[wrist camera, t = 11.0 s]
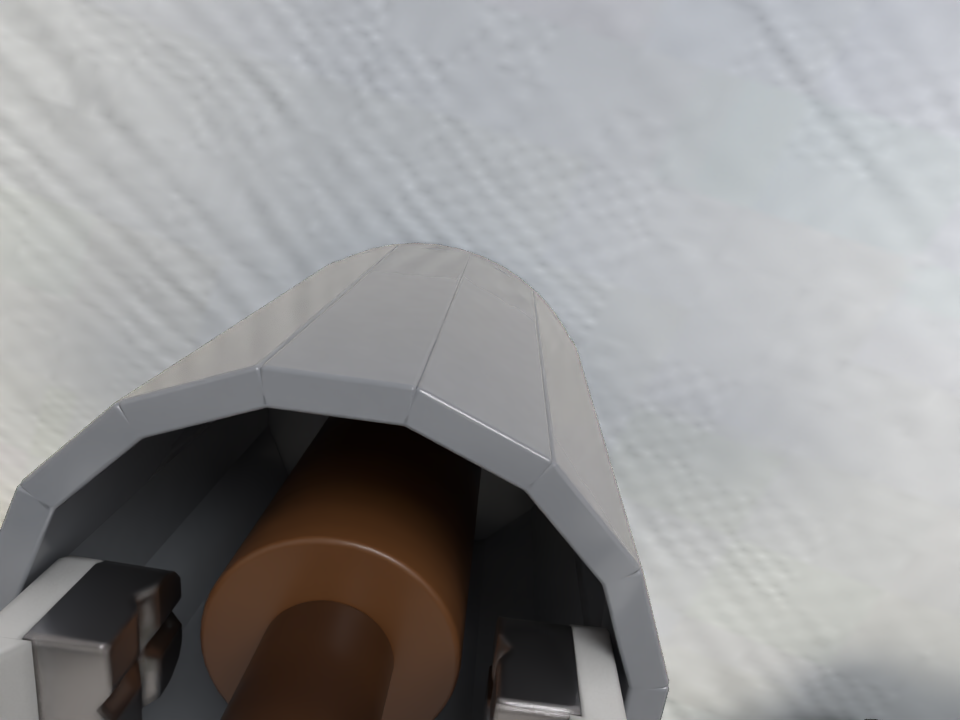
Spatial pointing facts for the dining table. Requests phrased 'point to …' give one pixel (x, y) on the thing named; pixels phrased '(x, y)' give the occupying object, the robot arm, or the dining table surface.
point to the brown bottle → (349, 584)
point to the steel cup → (368, 397)
